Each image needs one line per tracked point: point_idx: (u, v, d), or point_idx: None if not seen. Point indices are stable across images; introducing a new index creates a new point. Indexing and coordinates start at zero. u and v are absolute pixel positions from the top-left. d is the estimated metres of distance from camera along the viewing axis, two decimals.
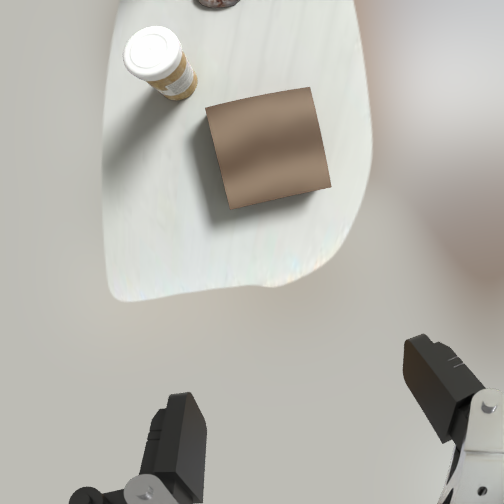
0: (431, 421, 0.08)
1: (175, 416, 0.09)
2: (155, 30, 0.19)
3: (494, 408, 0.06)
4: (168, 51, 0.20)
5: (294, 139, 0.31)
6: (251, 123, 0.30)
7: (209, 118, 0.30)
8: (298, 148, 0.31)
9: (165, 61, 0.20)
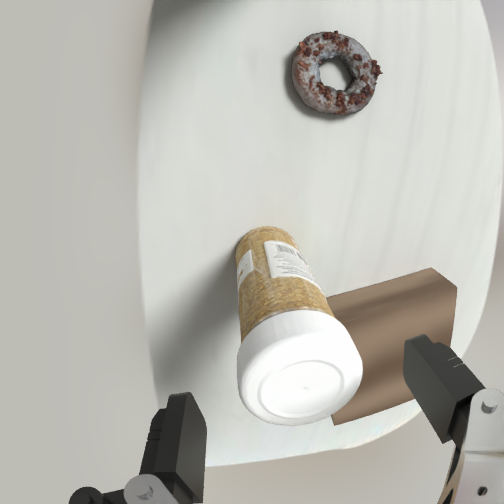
0: (431, 421, 0.08)
1: (175, 416, 0.09)
2: (321, 350, 0.10)
3: (494, 408, 0.06)
4: (343, 392, 0.10)
5: None
6: (380, 343, 0.21)
7: None
8: None
9: (334, 407, 0.11)
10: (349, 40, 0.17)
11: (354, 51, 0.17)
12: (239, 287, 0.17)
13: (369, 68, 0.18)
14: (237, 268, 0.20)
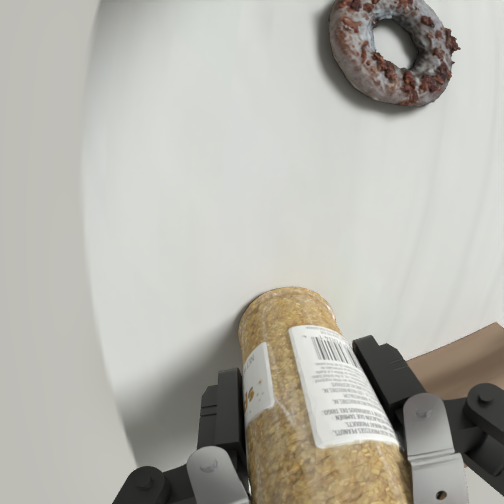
0: None
1: (229, 390, 0.10)
2: None
3: (427, 413, 0.07)
4: None
5: None
6: None
7: None
8: None
9: None
10: None
11: (421, 12, 0.09)
12: (248, 424, 0.08)
13: (443, 39, 0.09)
14: (242, 359, 0.12)
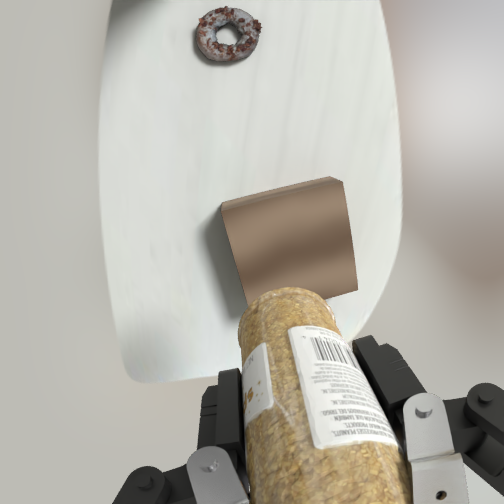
0: None
1: (229, 390, 0.10)
2: None
3: (427, 413, 0.07)
4: None
5: (323, 244, 0.29)
6: (274, 228, 0.28)
7: (226, 223, 0.28)
8: (326, 253, 0.29)
9: None
10: (234, 10, 0.23)
11: (238, 16, 0.24)
12: (247, 425, 0.08)
13: (251, 25, 0.24)
14: None
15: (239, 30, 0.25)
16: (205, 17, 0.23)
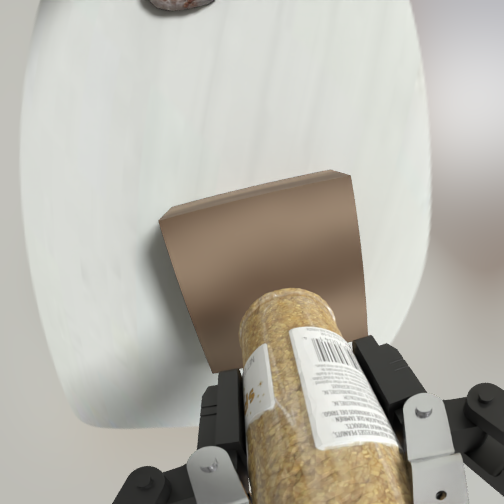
0: None
1: (229, 390, 0.10)
2: None
3: (427, 413, 0.07)
4: None
5: (318, 273, 0.19)
6: (242, 248, 0.18)
7: (167, 240, 0.18)
8: (323, 286, 0.19)
9: None
10: None
11: None
12: (248, 426, 0.08)
13: None
14: None
15: None
16: None
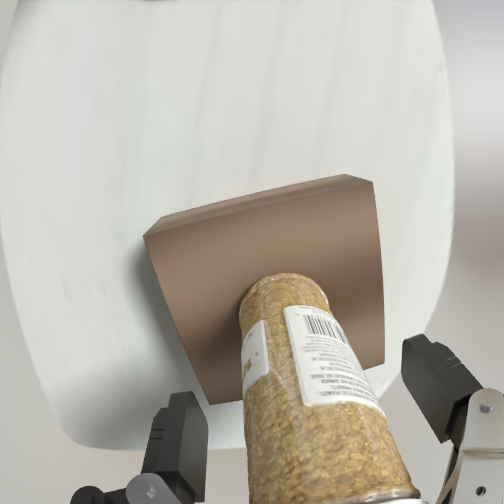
0: (429, 421, 0.08)
1: (177, 415, 0.09)
2: None
3: (492, 408, 0.06)
4: None
5: (332, 296, 0.16)
6: (243, 268, 0.15)
7: (154, 258, 0.15)
8: (338, 311, 0.16)
9: None
10: None
11: None
12: (245, 392, 0.10)
13: None
14: (242, 338, 0.14)
15: None
16: None
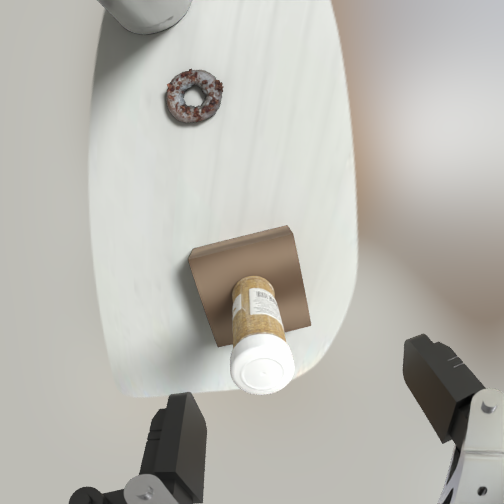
0: (431, 421, 0.08)
1: (175, 416, 0.09)
2: (269, 353, 0.20)
3: (494, 408, 0.06)
4: (284, 376, 0.21)
5: (276, 287, 0.34)
6: (233, 274, 0.33)
7: (193, 270, 0.33)
8: (280, 295, 0.34)
9: (281, 384, 0.21)
10: (198, 73, 0.29)
11: (202, 79, 0.30)
12: (233, 318, 0.27)
13: (213, 86, 0.30)
14: None
15: (203, 91, 0.30)
16: (172, 82, 0.29)
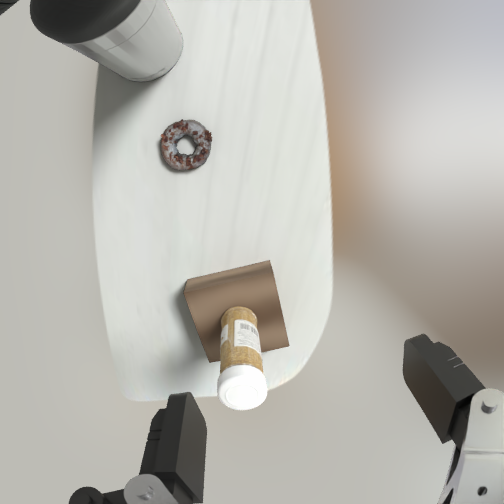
0: (431, 421, 0.08)
1: (175, 416, 0.09)
2: (246, 381, 0.26)
3: (494, 408, 0.06)
4: (259, 397, 0.27)
5: (259, 315, 0.39)
6: (222, 304, 0.38)
7: (187, 300, 0.38)
8: (262, 321, 0.39)
9: (256, 403, 0.27)
10: (188, 124, 0.34)
11: (192, 130, 0.34)
12: (221, 346, 0.33)
13: (203, 137, 0.35)
14: None
15: (194, 141, 0.35)
16: (166, 132, 0.34)
